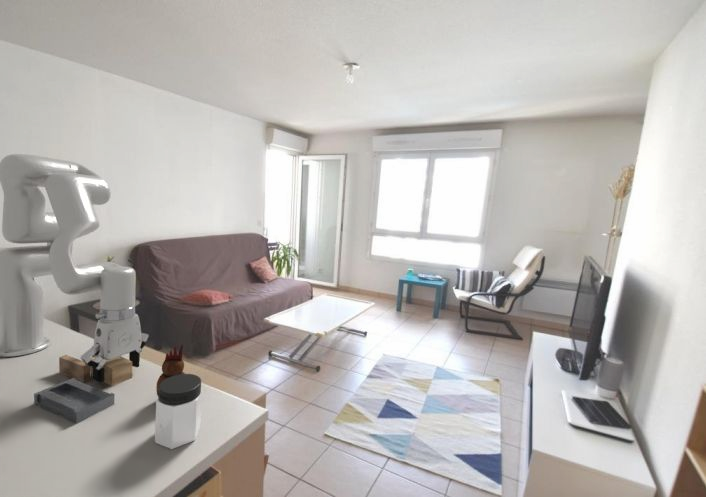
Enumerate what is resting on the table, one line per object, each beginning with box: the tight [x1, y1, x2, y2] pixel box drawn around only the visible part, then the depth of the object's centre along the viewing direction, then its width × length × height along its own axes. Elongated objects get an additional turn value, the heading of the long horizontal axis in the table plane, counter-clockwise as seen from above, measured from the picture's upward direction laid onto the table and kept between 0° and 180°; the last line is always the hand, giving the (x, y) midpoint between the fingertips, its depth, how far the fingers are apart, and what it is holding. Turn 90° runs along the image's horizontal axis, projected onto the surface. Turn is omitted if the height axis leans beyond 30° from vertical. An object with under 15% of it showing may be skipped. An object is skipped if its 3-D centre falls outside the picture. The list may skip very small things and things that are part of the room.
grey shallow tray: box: [33, 377, 115, 424], centre depth 76 cm, size 15×8×3 cm, turn 71°
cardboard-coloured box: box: [90, 356, 133, 387], centre depth 88 cm, size 10×5×5 cm, turn 65°
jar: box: [154, 373, 203, 450], centre depth 69 cm, size 9×8×12 cm
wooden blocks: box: [58, 345, 96, 383], centre depth 91 cm, size 10×10×4 cm
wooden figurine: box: [155, 343, 186, 396], centre depth 80 cm, size 7×6×15 cm
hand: (117, 373), depth 87 cm, fingers open, 9 cm apart
